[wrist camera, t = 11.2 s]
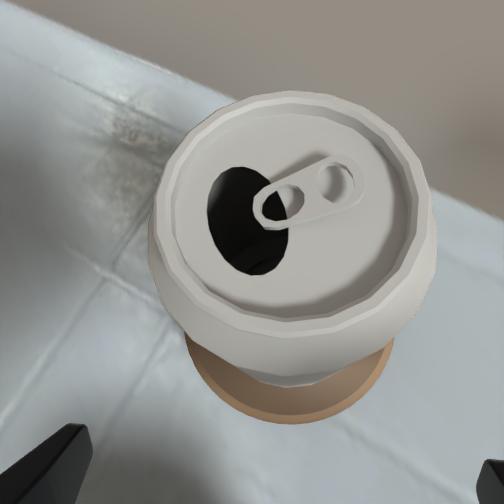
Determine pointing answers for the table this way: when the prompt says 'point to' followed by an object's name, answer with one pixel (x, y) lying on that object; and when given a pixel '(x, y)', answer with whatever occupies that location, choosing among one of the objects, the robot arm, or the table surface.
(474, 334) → the table surface
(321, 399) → the brown wooden disc
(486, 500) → the robot arm
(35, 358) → the table surface
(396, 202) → the can
